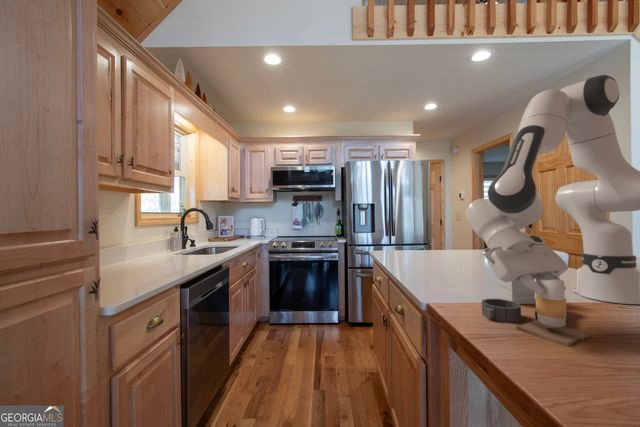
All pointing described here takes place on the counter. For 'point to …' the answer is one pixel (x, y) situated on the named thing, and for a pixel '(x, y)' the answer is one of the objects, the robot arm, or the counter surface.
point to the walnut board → (553, 332)
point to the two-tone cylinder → (551, 303)
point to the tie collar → (501, 310)
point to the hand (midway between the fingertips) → (552, 292)
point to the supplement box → (515, 292)
